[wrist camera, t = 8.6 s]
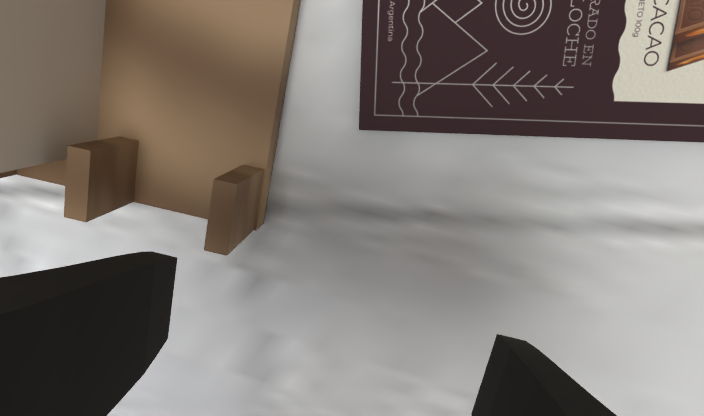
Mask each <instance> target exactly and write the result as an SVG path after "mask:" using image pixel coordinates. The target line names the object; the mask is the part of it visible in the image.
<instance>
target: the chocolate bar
mask: <svg viewBox="0 0 704 416" xmlns="http://www.w3.org/2000/svg"><path fill="white" fill-rule="evenodd" d="M359 130H381V131H408V132H436V133H463V134H491V135H519V136H546V137H574V138H601V139H629V140H656V141H684V142H704V0H363V14H362V48H361V82H360V116H359Z"/></svg>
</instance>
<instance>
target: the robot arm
mask: <svg viewBox="0 0 704 416" xmlns="http://www.w3.org/2000/svg"><path fill="white" fill-rule="evenodd" d="M176 264H177V258H176V257H172V256H168V255H164V254H159V253H155V252H138V253H131V254H125V255H120V256H115V257H110V258H105V259H100V260H95V261H90V262H85V263H80V264H75V265H70V266H65V267H60V268H54V269H49V270H43V271H37V272H32V273H26V274H20V275H14V276H8V277H1V278H0V416H107V414H108V413H109V412H110V411H111V410H112V409H113V408H114V407H115V406H116V405H117V404H118V402H119V401H120V400H121V399H122V398H123V397H124V396H125V395H126V394H127V392H128V391H129V390H130V389H131V388H132V387H133V386H134V385H135V383H136V382H137V381H138V380H139V379H140V378H141V377H142V375H143V374H144V373H145V371H146V370H147V369H148V367H149V366H150V364H151V363H152V361H153V360H154V359H155V357H156V356H157V354H158V353H159V351H160V349H161V348H162V346H163V345H164V343H165V342H166V340H167V339H168V332H169V323H170V315H171V306H172V298H173V289H174V281H175V272H176ZM472 416H617V415H615V414H614V413H613V412H611V411H610V410H609V409H608V408H607V407H605V406H604V405H603V404H602V403H600V402H599V401H598V400H597V399H596V398H594V397H593V396H592V395H591V394H590V393H588V392H587V391H586V390H585V389H584V388H583V387H581V386H580V385H579V384H578V383H577V382H576V381H574V380H573V379H572V378H571V377H570V376H569V375H567V374H566V373H565V372H564V371H563V370H562V369H561V368H559V367H558V366H557V365H556V364H555V363H554V362H552V361H551V360H550V359H549V358H548V357H546V356H545V355H544V354H543V353H542V352H540V351H539V350H538V349H537V348H535V347H534V346H532V345H531V344H529V343H528V342H526V341H524V340H519V339H515V338H511V337H507V336H503V335H498V334H497V336H496V339H495V342H494V346H493V349H492V352H491V355H490V358H489V361H488V364H487V367H486V370H485V374H484V377H483V380H482V383H481V386H480V389H479V392H478V395H477V398H476V402H475V405H474V408H473V411H472Z"/></svg>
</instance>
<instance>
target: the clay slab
mask: <svg viewBox="0 0 704 416" xmlns="http://www.w3.org/2000/svg"><path fill="white" fill-rule="evenodd" d="M105 7H106V0H0V173H3V172H7V171H12V170H17V169H21V168H26V167H30V166H35V165H40V164H44V163H49V162H53V161H58V160H63V159H67V147H68V145H73V144H79V143H84V142H90V141H96V140H97V127H98V112H99V97H100V82H101V67H102V52H103V37H104V22H105Z"/></svg>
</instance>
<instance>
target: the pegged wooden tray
mask: <svg viewBox="0 0 704 416" xmlns="http://www.w3.org/2000/svg"><path fill="white" fill-rule="evenodd" d="M299 5H300V0H106V7H105V22H104V37H103V52H102V67H101V82H100V97H99V112H98V127H97V140H96V141H90V142H84V143H79V144H73V145H68V147H67V159H63V160H58V161H53V162H49V163H44V164H40V165H35V166H30V167H26V168H21V169H17V170H12V171H7V172H3V173H0V178H3V177H7V176H12V175H16V174H17V175H21V176H25V177H30V178H34V179H38V180H43V181H47V182H51V183H55V184H60V185H64V186H65V206H64V217H66V218H71V219H75V220H79V221H83V222H88V221H90V220H92V219H95V218H97V217H99V216H102V215H104V214H106V213H109V212H111V211H113V210H116V209H118V208H120V207H123V206H125V205H127V204H130V203H132V202H137V203H141V204H145V205H149V206H154V207H158V208H162V209H167V210H171V211H175V212H179V213H184V214H188V215H192V216H196V217H201V218H205V219H208V224H207V232H206V239H205V247H204V250H205V251H210V252H214V253H218V254H222V255H226V256H227V255H228V254H229V253H230V252H231V251H232V250H233V249H234V248H235V247H236V246H237V245H238V244H239V243H241V242H242V241H243V240H244V239H245V238H246V237H247V236H248V235H249V234H250V233H251V232H252V231H253V230H257V229H258V228H259V227H260V226H261V225H262V224H263V222H264V216H265V210H266V204H267V198H268V192H269V186H270V180H271V174H272V168H273V162H274V156H275V150H276V144H277V138H278V131H279V125H280V119H281V113H282V107H283V101H284V95H285V89H286V83H287V77H288V71H289V65H290V59H291V53H292V47H293V41H294V35H295V29H296V23H297V17H298V11H299Z"/></svg>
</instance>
